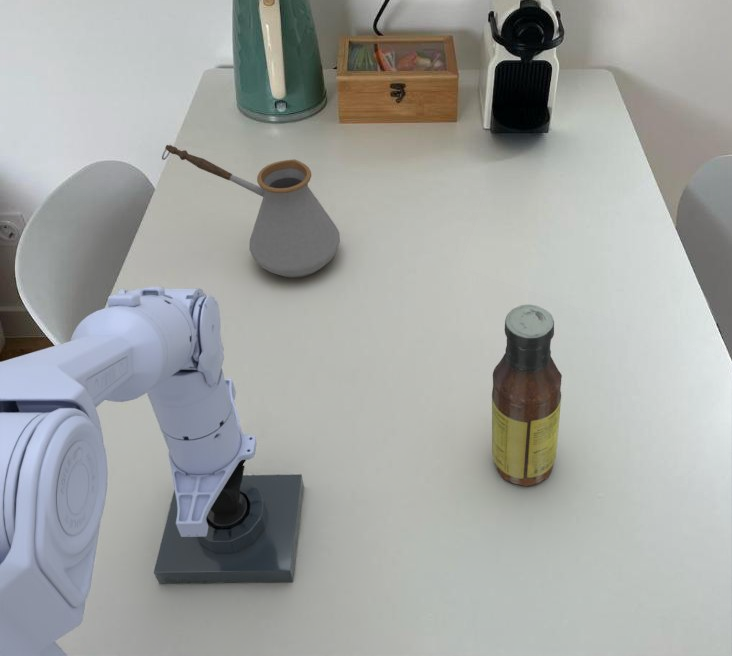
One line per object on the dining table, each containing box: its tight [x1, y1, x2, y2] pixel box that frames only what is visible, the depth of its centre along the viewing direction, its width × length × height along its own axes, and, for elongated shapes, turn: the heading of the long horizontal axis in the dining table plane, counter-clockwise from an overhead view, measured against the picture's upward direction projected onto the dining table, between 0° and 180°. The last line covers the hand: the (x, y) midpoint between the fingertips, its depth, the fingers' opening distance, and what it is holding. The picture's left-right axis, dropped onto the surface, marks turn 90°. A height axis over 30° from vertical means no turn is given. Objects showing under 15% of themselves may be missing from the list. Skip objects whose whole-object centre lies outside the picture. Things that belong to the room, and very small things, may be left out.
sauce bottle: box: [491, 304, 563, 487], centre depth 73 cm, size 7×6×20 cm
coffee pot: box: [161, 144, 341, 279], centre depth 101 cm, size 21×12×15 cm, turn 74°
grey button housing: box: [153, 473, 305, 585], centre depth 74 cm, size 12×10×4 cm
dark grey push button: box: [207, 494, 249, 530], centre depth 73 cm, size 4×4×2 cm
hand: (226, 507), depth 73 cm, fingers closed, pressing on dark grey push button
